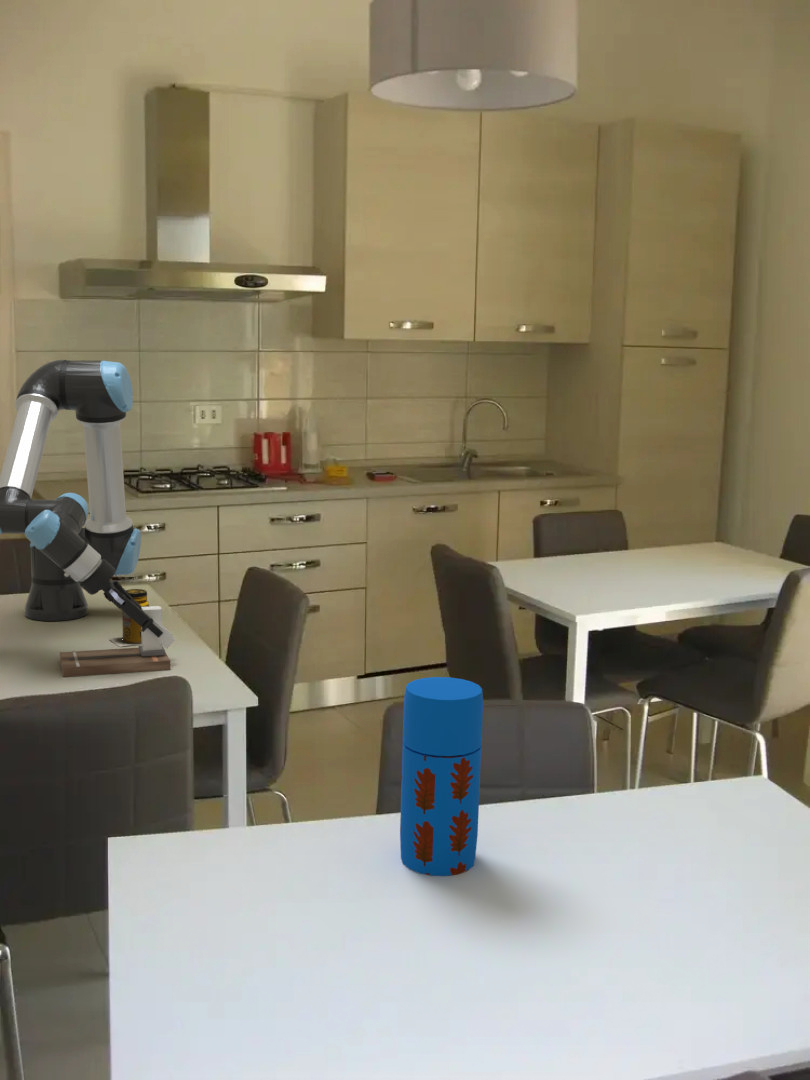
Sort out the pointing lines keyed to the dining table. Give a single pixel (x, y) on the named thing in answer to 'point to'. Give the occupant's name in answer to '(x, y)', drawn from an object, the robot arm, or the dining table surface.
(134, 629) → the condiment
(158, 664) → the fader track
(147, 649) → the fader tab
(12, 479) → the robot arm
